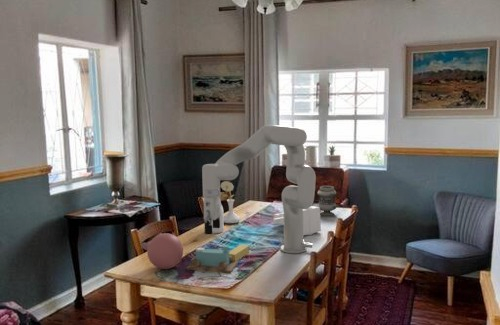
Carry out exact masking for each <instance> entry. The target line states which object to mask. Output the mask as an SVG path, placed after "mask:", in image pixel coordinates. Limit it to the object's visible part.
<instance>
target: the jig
mask: <svg viewBox="0 0 500 325" xmlns="http://www.w3.org/2000/svg"><path fill="white" fill-rule="evenodd" d="M229 260H230V264H229V265H228V266H227V263H226V262H220V263H219V267H218V266H204V265H201V262H200V261H197V260H196V256H193V257H192V258H191V259H190V264H188V265H187V266H186V271H198V272H210V273H224V274H225V273H226V274H231V272H233V271H234V270H235V268H236V267H237V265H238V264H239V260H238V261H232V256H229ZM233 269H234V270H233Z"/></svg>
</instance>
